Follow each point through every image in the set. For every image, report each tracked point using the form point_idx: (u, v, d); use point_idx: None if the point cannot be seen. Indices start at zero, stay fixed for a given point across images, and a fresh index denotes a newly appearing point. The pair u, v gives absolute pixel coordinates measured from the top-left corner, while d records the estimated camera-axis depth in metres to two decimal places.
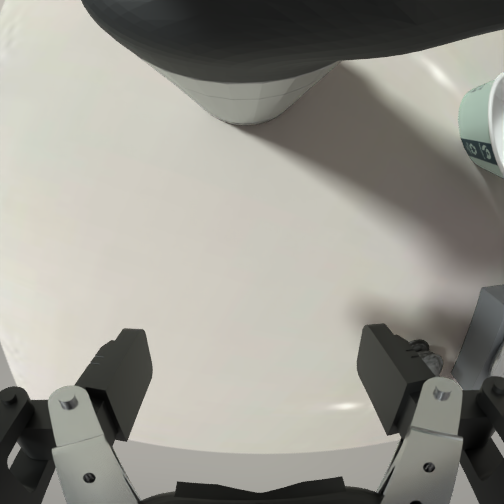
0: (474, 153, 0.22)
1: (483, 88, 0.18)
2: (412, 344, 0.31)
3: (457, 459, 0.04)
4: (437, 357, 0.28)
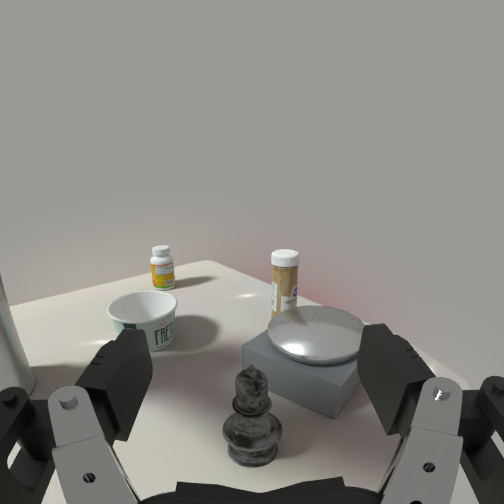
0: None
1: None
2: None
3: (457, 459, 0.04)
4: None
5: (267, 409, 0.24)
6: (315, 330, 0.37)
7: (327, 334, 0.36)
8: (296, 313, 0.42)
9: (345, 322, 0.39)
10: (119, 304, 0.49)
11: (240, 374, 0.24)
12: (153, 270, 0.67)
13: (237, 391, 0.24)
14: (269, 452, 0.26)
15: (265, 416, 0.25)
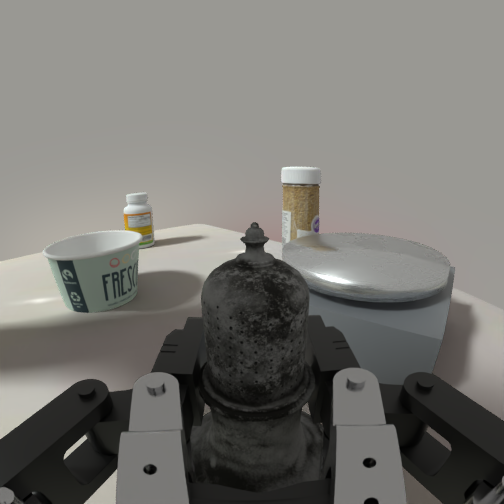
0: (78, 297, 0.27)
1: None
2: None
3: (395, 447, 0.04)
4: None
5: (306, 393, 0.08)
6: (365, 254, 0.21)
7: (388, 258, 0.20)
8: (326, 238, 0.26)
9: (408, 248, 0.22)
10: (66, 247, 0.32)
11: (218, 268, 0.08)
12: (126, 222, 0.51)
13: (206, 327, 0.07)
14: None
15: (297, 416, 0.08)
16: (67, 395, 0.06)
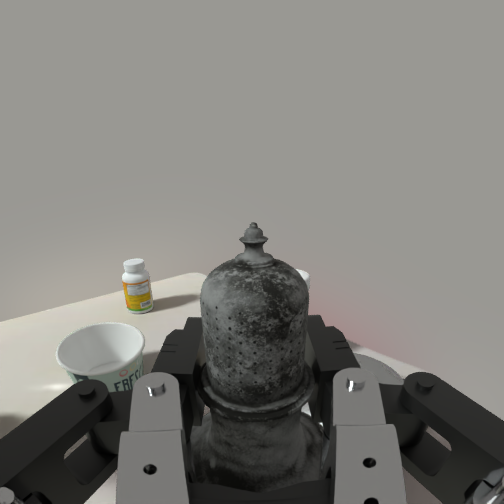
0: None
1: (69, 361, 0.32)
2: None
3: (395, 447, 0.04)
4: None
5: (305, 394, 0.08)
6: None
7: None
8: None
9: (379, 380, 0.25)
10: (74, 340, 0.34)
11: (217, 268, 0.08)
12: (125, 289, 0.53)
13: (205, 328, 0.07)
14: None
15: (296, 417, 0.08)
16: (67, 395, 0.06)
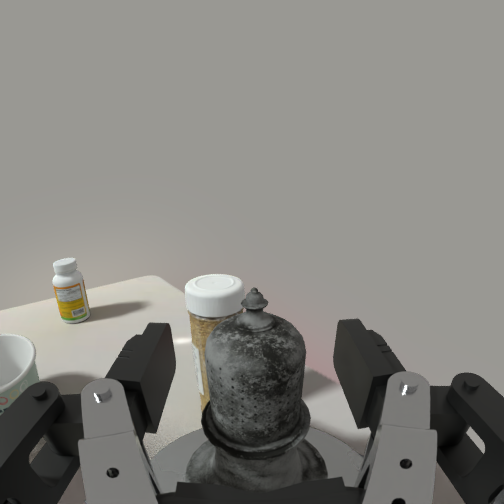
0: None
1: None
2: None
3: (434, 453, 0.04)
4: None
5: (301, 433, 0.08)
6: None
7: None
8: None
9: None
10: None
11: (220, 326, 0.08)
12: (55, 294, 0.40)
13: (210, 381, 0.08)
14: None
15: (293, 450, 0.08)
16: (22, 399, 0.05)
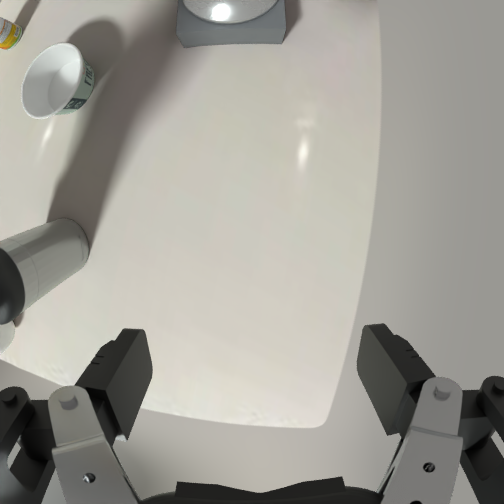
0: (79, 102, 0.35)
1: (40, 111, 0.33)
2: None
3: (457, 459, 0.04)
4: None
5: None
6: None
7: None
8: None
9: None
10: (27, 100, 0.31)
11: None
12: None
13: None
14: None
15: None
16: None
